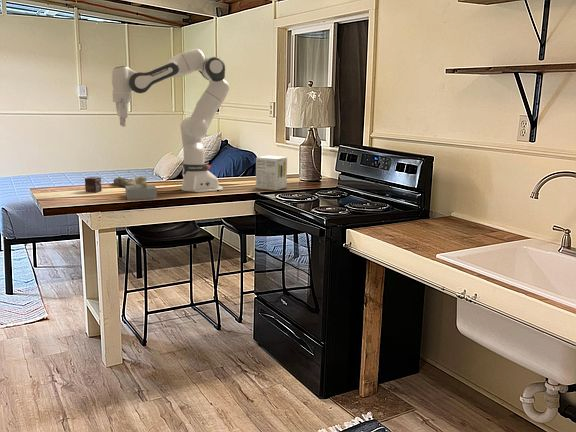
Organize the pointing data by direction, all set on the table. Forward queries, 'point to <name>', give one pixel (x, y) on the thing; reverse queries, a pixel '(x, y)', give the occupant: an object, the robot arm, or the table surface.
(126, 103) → the robot arm
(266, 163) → the supplement box
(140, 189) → the block
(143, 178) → the sage block
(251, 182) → the table surface
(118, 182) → the elongated rock
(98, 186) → the box
